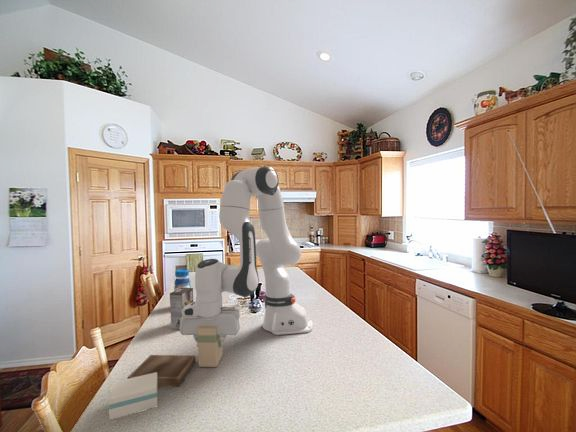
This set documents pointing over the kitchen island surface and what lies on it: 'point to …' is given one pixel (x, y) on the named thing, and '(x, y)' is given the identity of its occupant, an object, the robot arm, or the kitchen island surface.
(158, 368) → the brown wooden tray
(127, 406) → the wide carton
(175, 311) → the coffee box
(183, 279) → the beverage bottle
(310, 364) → the kitchen island surface
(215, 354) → the slim carton
